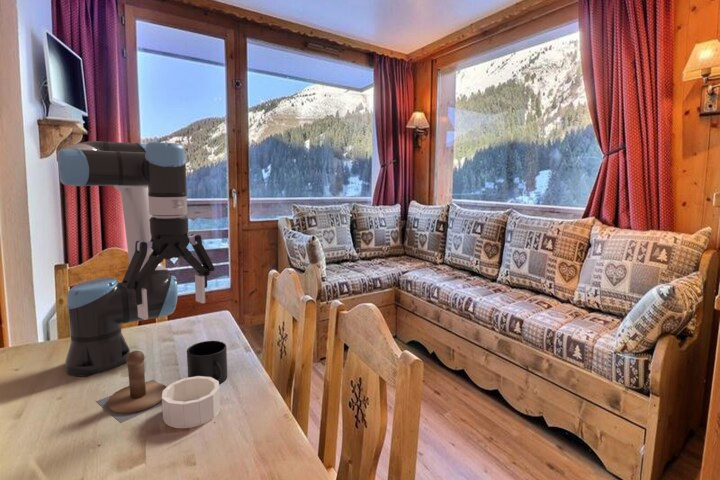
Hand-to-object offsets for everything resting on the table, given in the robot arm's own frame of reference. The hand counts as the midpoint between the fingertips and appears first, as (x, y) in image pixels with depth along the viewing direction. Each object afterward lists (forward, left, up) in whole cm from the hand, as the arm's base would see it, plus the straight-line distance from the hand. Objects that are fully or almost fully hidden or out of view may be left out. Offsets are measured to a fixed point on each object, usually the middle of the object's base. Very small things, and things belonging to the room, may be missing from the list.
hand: (173, 309), depth 90 cm
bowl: (+7, -1, -22) cm, 24 cm away
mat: (-7, -6, -22) cm, 24 cm away
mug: (-2, +9, -23) cm, 25 cm away
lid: (-7, -6, -22) cm, 24 cm away
